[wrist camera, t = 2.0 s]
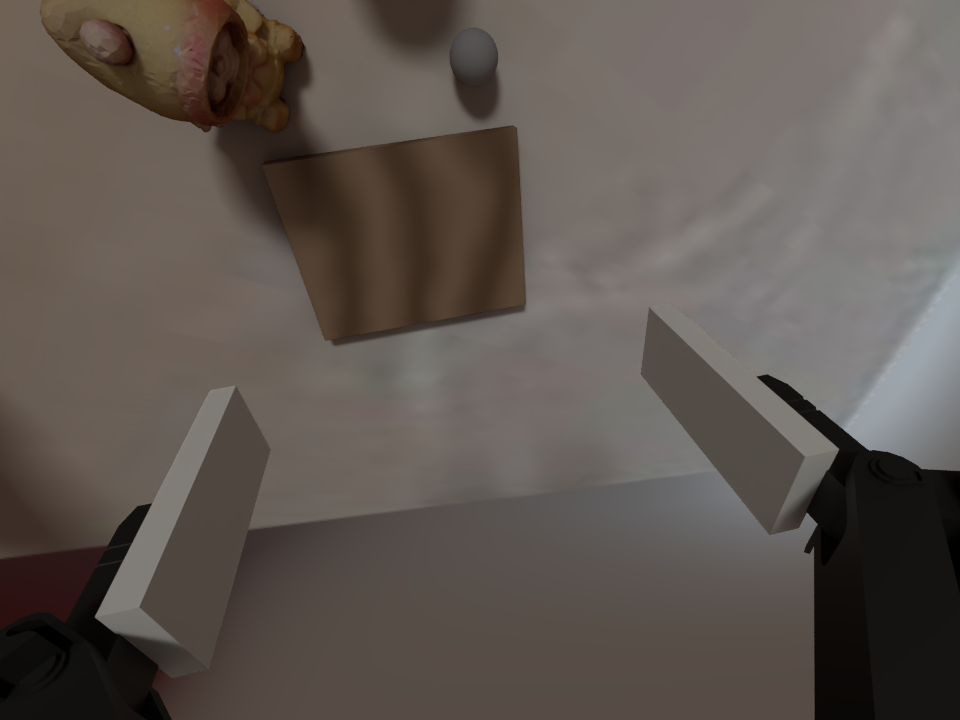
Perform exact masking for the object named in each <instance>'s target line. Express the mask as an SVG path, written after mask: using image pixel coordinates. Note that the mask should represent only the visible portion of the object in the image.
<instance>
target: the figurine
mask: <svg viewBox="0 0 960 720" xmlns="http://www.w3.org/2000/svg"><path fill="white" fill-rule="evenodd" d="M40 14H41V16H42V23H43V25H44V27H45V29H46V31H47V33H48V34H49V35H50V36H51V37H52V38H53V39H54V41H55V42H56V43H57V44H58V46H59V47H60V48H61V49H62V50H63V51H64V52H65V53H66V54H67V55H68V56H69V57H70V58H71V59H72V60H74V61H75V62H76V63H77V64H78V65H79V66H80V67H81V68H82V69H84V70H85V71H86V72H88V73H89V74H90V75H92V76H93V77H94V78H95V79H97V80H98V81H99V82H101V83H102V84H103V85H105V86H106V87H108V88H109V89H111V90H113V91H115V92H117V93H119V94H121V95H123V96H125V97H126V98H128V99H130V100H132V101H134V102H136V103H138V104H140V105H141V106H143V107H145V108H147V109H148V110H150V111H153V112H155V113H157V114H159V115H161V116H164V117H167V118H170V119H173V120H178V121H186V122H191V123H192V124H194V125H195V126H197V127H198V128H201V129H202V130H203V131H204V132H208V131H210V129H211V127H212V126H216V127H218V128H221V127H223V126H222V123H226V122H228V121H229V120H230V119H233V120H241V121H244V120H253V121H254V122H255V123H256V124H257V126H263V127H264V128H266V129H267V130H269V131H271V132H279V131H281V130H282V129H283V128H284V127H285V126H286V125H287V122H288V119H289V113H290V107H289V106H288V105H287V104H286V103H285V102H284V99H282V98H281V97H279V96H280V92H281V89H282V87H283V86H284V80H285V68H284V64H285V63H290V62H295V61H297V60H298V59H299V58H301V57H302V55H303V49H304V44H303V42H302V40H301V37H300V36H299V35H298V34H297V33H296V32H295V31H294V30H293V29H292V28H291V27H290V26H287V25H285V24H281V23H278V21H277V20H270V21H269V20H268V19H265V17H264V15H262V14H261V13H260V12H259V10H257V9H255V8H254V7H253V6H252V5H251V4H250V3H249V2H248V1H246V0H43V1H42V3H41V7H40Z"/></svg>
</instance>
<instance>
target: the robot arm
mask: <svg viewBox="0 0 960 720" xmlns="http://www.w3.org/2000/svg"><path fill="white" fill-rule="evenodd" d="M641 375H642V376H643V378H644V379H645V380H646V381H647V383H648V384H649V385H650V386H651V388H652V389H653V390H654V391H655V393H656V394H657V395H658V396H659V398H660V399H661V400H662V401H663V403H664V404H665V405H666V406H667V408H668V409H669V410H670V411H671V413H672V414H673V415H674V416H675V418H676V419H677V420H678V421H679V423H680V424H681V425H682V426H683V428H684V429H685V430H686V431H687V433H688V434H689V435H690V436H691V438H692V439H693V440H694V441H695V443H696V444H697V445H698V446H699V448H700V449H701V450H702V451H703V453H704V454H705V455H706V456H707V458H708V459H709V460H710V461H711V463H712V464H713V465H714V466H715V468H716V469H717V470H718V471H719V473H720V474H721V475H722V476H723V478H724V479H725V480H726V481H727V483H728V484H729V485H730V486H731V488H732V489H733V490H734V491H735V493H736V494H737V495H738V496H739V498H740V499H741V500H742V501H743V503H744V504H745V505H746V506H747V508H748V509H749V510H750V511H751V513H752V514H753V515H754V516H755V518H756V519H757V520H758V521H759V523H760V524H761V525H762V526H763V527H764V529H765V530H766V531H767V533H768V534H769V535H772V534H776V533H780V532H784V531H789V530H793V529H797V528H799V527H800V525H801V522H802V521H803V519H804V517H805V515H806V513H808V514H809V515H810V516H811V517H812V518H813V519H814V520H815V522H816V523H818V525H817V527H816V528H815V530H814V532H813V534H812V536H811V537H810V539H809V541H808V543H807V545H806V547H805V551H804V552H805V553H808V554H810V552H811V550H812V549H813V547H814V634H815V635H814V639H815V640H814V646H815V647H814V648H815V650H814V652H815V653H814V655H815V657H814V658H815V659H814V661H815V720H960V471H946V470H927V469H921V468H919V466H917V465H916V464H914V463H912V462H910V461H909V460H907V459H905V458H903V457H901V456H898V455H895V454H892V453H889V452H883V451H876V450H872V451H869V450H868V449H866V448H865V447H864V446H862V445H861V444H860V443H859V442H858V441H856V440H855V439H854V438H853V437H851V436H850V435H849V434H848V433H847V432H845V431H844V430H843V429H842V428H841V427H839V426H838V425H837V424H836V423H834V422H833V421H832V420H831V419H830V418H828V417H827V416H826V415H825V414H823V413H822V412H821V411H820V410H818V411H817V410H816V407H815V406H814V405H813V404H811V403H810V402H809V401H808V400H804V399H803V396H802V395H800V394H799V393H798V392H797V391H795V390H794V389H793V388H792V387H791V386H789V385H788V384H786V383H784V382H782V381H780V380H778V379H776V378H774V377H772V376H769V375H762V376H758V377H756V376H755V375H753V374H752V373H751V372H750V371H749V370H748V369H747V368H745V367H744V366H743V365H742V364H741V363H740V362H739V361H737V360H736V359H735V358H734V357H733V356H732V355H731V354H729V353H728V352H727V351H726V350H725V349H724V348H722V347H721V346H720V345H719V344H718V343H717V342H716V341H714V340H713V339H712V338H711V337H710V336H709V335H708V334H706V333H705V332H704V331H703V330H702V329H701V328H700V327H698V326H697V325H696V324H695V323H694V322H693V321H691V320H690V319H689V318H688V317H687V316H686V315H685V314H683V313H682V312H681V311H680V310H679V309H678V308H677V307H675V306H674V305H673V304H672V303H669V304H664V305H658V306H653V307H649V313H648V321H647V329H646V337H645V344H644V352H643V360H642V368H641ZM269 453H270V447H269V445H268V444H267V442H266V440H265V438H264V436H263V434H262V433H261V431H260V429H259V427H258V425H257V423H256V421H255V420H254V418H253V416H252V414H251V412H250V410H249V409H248V407H247V405H246V403H245V401H244V399H243V398H242V396H241V394H240V392H239V390H238V388H237V387H236V386H231V387H226V388H221V389H215V390H210V391H209V393H208V395H207V397H206V399H205V401H204V403H203V405H202V407H201V409H200V411H199V413H198V415H197V417H196V419H195V421H194V423H193V425H192V427H191V428H190V430H189V432H188V434H187V436H186V438H185V440H184V442H183V444H182V446H181V448H180V450H179V452H178V454H177V456H176V458H175V460H174V462H173V464H172V466H171V468H170V470H169V472H168V474H167V476H166V478H165V480H164V482H163V484H162V486H161V488H160V490H159V492H158V493H157V495H156V497H155V499H154V501H153V503H151V504H146V505H142V506H137V507H136V508H135V510H134V511H133V512H132V513H131V514H130V515H129V516H128V517H127V518H126V519H125V520H124V521H123V522H122V523H121V524H120V525H119V527H118V528H117V530H116V532H115V534H114V536H113V537H112V539H111V541H110V543H109V545H108V546H107V547H108V550H107V551H105V552H104V554H103V556H102V557H101V559H100V561H99V563H98V568H96V569H95V570H94V572H93V574H92V575H91V577H90V579H89V581H88V583H87V584H86V586H85V588H84V590H83V592H82V594H81V595H80V597H79V599H78V601H77V602H76V604H75V606H74V608H73V610H72V611H71V613H70V615H69V617H68V619H67V620H66V622H65V623H64V622H62V621H61V620H60V619H58V618H57V617H56V616H54V615H53V614H51V613H46V612H37V613H34V614H31V615H27V616H24V617H22V618H20V619H18V620H17V621H15V622H13V623H11V624H9V625H7V626H6V627H4V628H3V629H2V630H0V720H172V719H171V717H170V715H169V713H168V711H167V709H166V707H165V705H164V703H163V701H162V699H161V697H160V695H159V693H158V692H157V691H156V690H155V689H154V688H153V687H152V686H151V685H152V682H153V679H154V677H155V674H156V671H157V669H158V668H160V669H161V670H162V671H164V672H165V673H166V674H167V675H169V676H170V677H171V678H175V677H179V676H184V675H188V674H191V673H196V672H200V671H204V670H208V669H209V667H210V663H211V660H212V656H213V652H214V649H215V645H216V642H217V638H218V635H219V631H220V628H221V624H222V620H223V617H224V613H225V610H226V606H227V603H228V599H229V595H230V592H231V588H232V585H233V581H234V578H235V574H236V571H237V567H238V563H239V560H240V556H241V553H242V549H243V545H244V542H245V538H246V535H247V531H248V528H249V524H250V521H251V517H252V513H253V510H254V506H255V503H256V499H257V496H258V492H259V488H260V485H261V481H262V478H263V474H264V471H265V467H266V464H267V460H268V456H269Z"/></svg>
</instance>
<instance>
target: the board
mask: <svg viewBox="0 0 960 720" xmlns="http://www.w3.org/2000/svg"><path fill="white" fill-rule="evenodd" d="M262 168H263V171H264V174H265V176H266V179H267V182H268V185H269V187H270V190H271V193H272V196H273V198H274V201H275V204H276V207H277V209H278V212H279V215H280V218H281V220H282V223H283V226H284V229H285V231H286V234H287V237H288V240H289V242H290V245H291V248H292V251H293V253H294V256H295V259H296V262H297V265H298V267H299V270H300V273H301V276H302V278H303V281H304V284H305V287H306V289H307V292H308V295H309V298H310V300H311V303H312V306H313V309H314V311H315V314H316V317H317V320H318V322H319V325H320V328H321V331H322V333H323V336H324V339H325V341H326V340H332V339H337V338H343V337H349V336H354V335H360V334H365V333H371V332H376V331H382V330H387V329H393V328H398V327H404V326H409V325H415V324H420V323H426V322H431V321H437V320H442V319H448V318H453V317H459V316H465V315H470V314H476V313H481V312H487V311H492V310H498V309H503V308H509V307H514V306H520V305H525V304H526V299H525V278H524V258H523V238H522V218H521V198H520V177H519V157H518V137H517V128H516V127H514V126H506V127H499V128H492V129H486V130H479V131H472V132H465V133H458V134H451V135H444V136H437V137H430V138H423V139H417V140H410V141H403V142H396V143H389V144H382V145H375V146H368V147H361V148H354V149H348V150H341V151H334V152H327V153H320V154H313V155H306V156H299V157H292V158H286V159H279V160H272V161H266V162H264V163H263V164H262Z"/></svg>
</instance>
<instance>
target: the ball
mask: <svg viewBox="0 0 960 720" xmlns="http://www.w3.org/2000/svg"><path fill="white" fill-rule="evenodd" d="M497 63H498V51H497V47H496V44H495V42H494V40H493V39H492V37H491V36H490V35H489V34H488V33H487V32H485V31H484V30H481V29H478V28H469V29H466V30H464V31H462V32H461V33H460V34H458V36H457V37H456V38H455V39H454V41H453V43H452V46H451V49H450V65H451V68H452V70H453V73H454V74H455V76H456V77H457V78H458V79H459V80H460V81H461V82H462V83H464V84H466V85H469V86H479V85H482V84H484V83H486V82H487V81H488V80H489V79H490V78H491V77H492V76H493V74H494V72H495V70H496V67H497Z"/></svg>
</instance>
